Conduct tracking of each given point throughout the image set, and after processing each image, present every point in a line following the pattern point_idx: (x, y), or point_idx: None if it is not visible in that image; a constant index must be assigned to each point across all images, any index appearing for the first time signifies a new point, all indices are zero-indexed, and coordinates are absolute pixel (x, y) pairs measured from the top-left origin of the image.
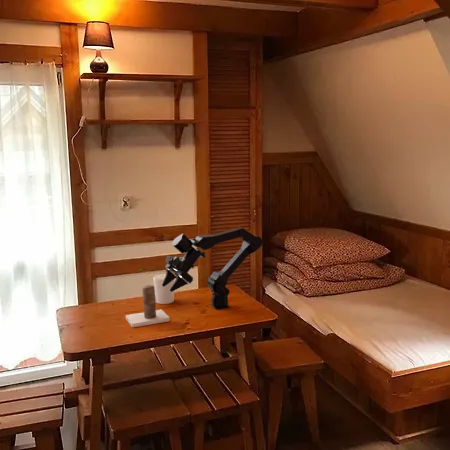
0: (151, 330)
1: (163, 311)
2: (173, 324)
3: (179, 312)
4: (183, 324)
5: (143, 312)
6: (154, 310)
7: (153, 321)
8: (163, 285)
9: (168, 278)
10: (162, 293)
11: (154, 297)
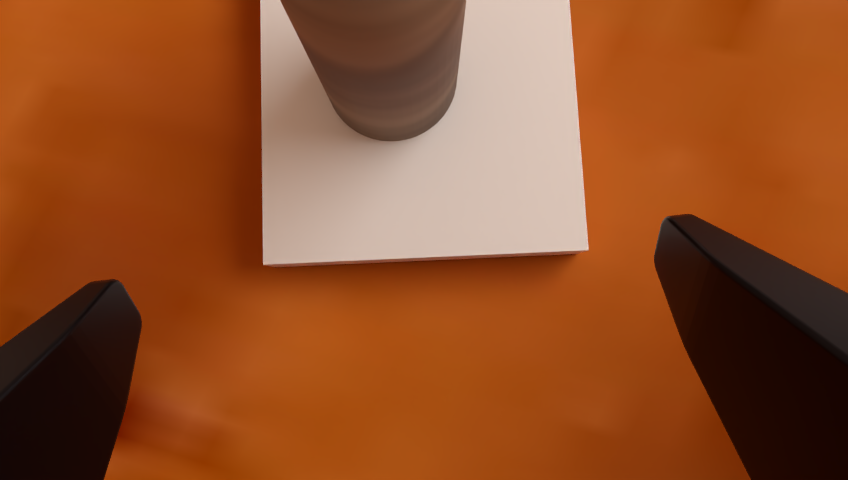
0: (105, 41)
1: (502, 253)
2: (158, 276)
3: (500, 443)
4: None
5: (567, 38)
6: (324, 85)
7: (265, 88)
8: (664, 249)
9: (838, 461)
10: None
11: (298, 7)
